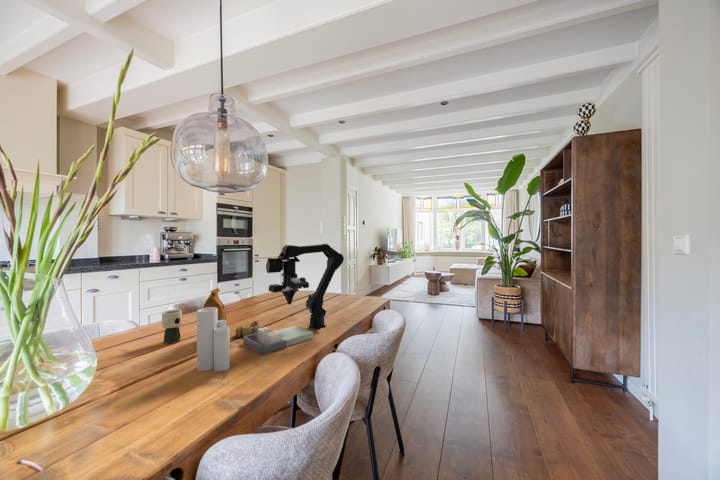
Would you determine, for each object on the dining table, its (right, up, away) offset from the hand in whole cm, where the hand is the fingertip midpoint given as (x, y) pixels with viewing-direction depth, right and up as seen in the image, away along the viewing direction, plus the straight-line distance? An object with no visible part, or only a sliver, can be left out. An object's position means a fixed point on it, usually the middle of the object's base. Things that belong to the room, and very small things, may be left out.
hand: (289, 304), depth 139 cm
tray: (-6, -13, -17) cm, 23 cm away
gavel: (-19, -14, +3) cm, 23 cm away
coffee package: (-30, -13, -10) cm, 35 cm away
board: (+3, -13, -8) cm, 16 cm away
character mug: (-47, -14, -13) cm, 51 cm away
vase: (-17, -14, -36) cm, 43 cm away
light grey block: (-1, -10, -18) cm, 21 cm away
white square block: (-6, -10, -12) cm, 17 cm away
